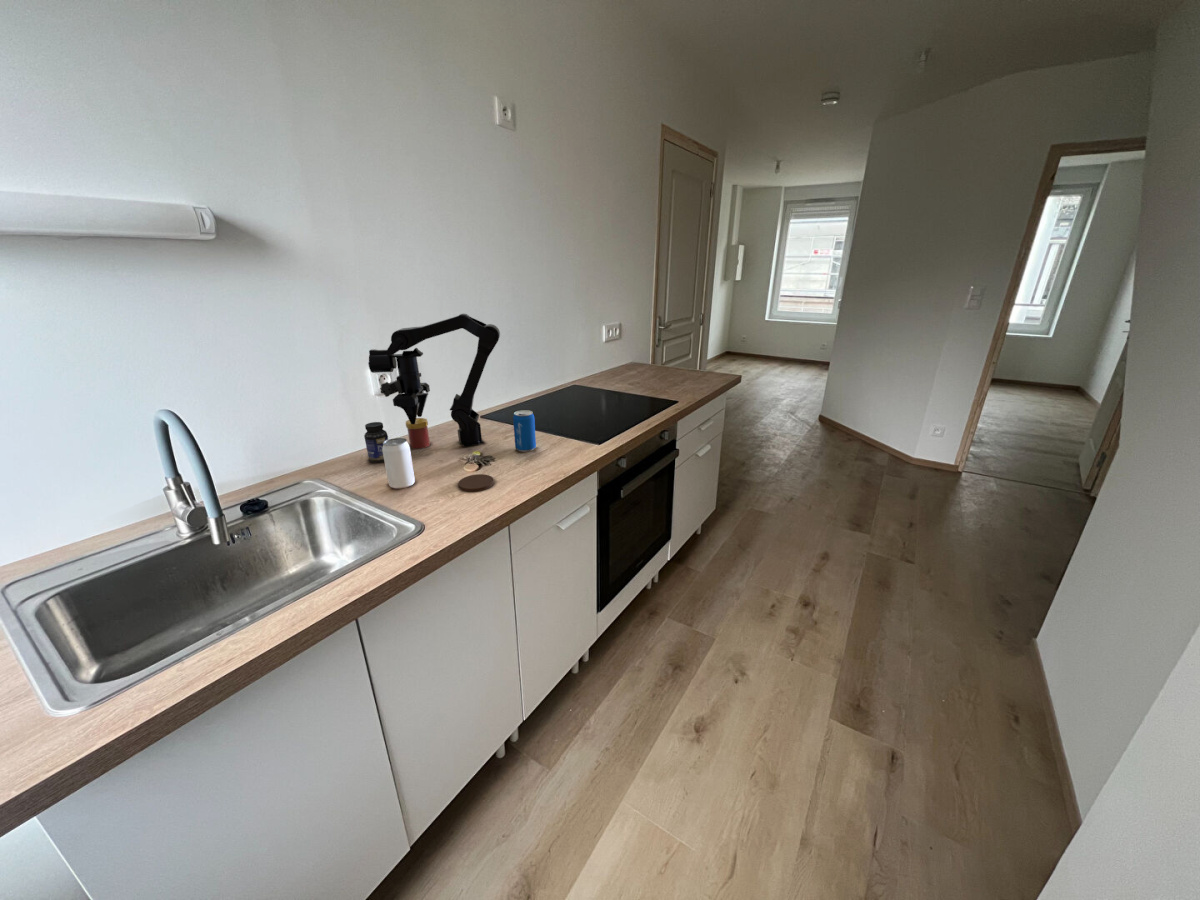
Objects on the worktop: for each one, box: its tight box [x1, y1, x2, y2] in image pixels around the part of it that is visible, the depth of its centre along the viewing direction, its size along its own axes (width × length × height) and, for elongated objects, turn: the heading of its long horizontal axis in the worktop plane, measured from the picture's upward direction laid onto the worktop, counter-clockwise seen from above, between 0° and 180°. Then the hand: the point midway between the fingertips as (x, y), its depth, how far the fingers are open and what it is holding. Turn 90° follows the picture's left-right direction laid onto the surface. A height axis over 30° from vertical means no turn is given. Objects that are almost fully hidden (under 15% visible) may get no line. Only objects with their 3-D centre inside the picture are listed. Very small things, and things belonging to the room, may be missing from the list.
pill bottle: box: [363, 421, 389, 463], centre depth 133 cm, size 6×6×11 cm
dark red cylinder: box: [406, 425, 431, 450], centre depth 145 cm, size 6×6×8 cm
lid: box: [405, 417, 429, 429], centre depth 144 cm, size 6×6×2 cm
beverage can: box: [512, 409, 537, 453], centre depth 141 cm, size 6×6×12 cm
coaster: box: [457, 473, 495, 493], centre depth 119 cm, size 9×9×1 cm
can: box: [382, 437, 416, 490], centre depth 117 cm, size 6×6×12 cm
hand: (416, 420), depth 143 cm, fingers open, 7 cm apart
